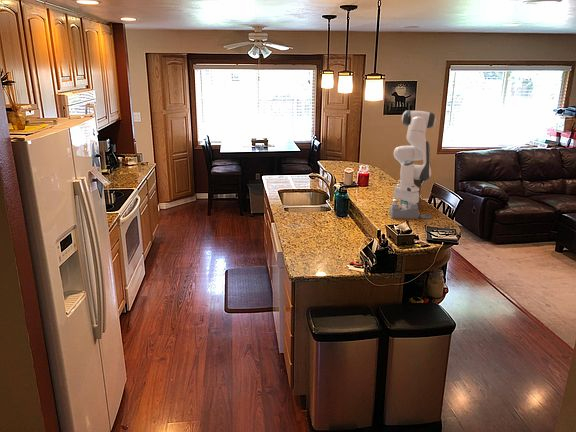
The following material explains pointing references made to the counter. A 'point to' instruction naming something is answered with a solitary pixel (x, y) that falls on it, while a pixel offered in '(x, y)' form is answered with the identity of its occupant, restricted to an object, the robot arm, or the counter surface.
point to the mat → (425, 217)
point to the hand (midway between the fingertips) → (405, 207)
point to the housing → (404, 212)
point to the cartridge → (404, 205)
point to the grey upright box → (418, 184)
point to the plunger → (395, 202)
